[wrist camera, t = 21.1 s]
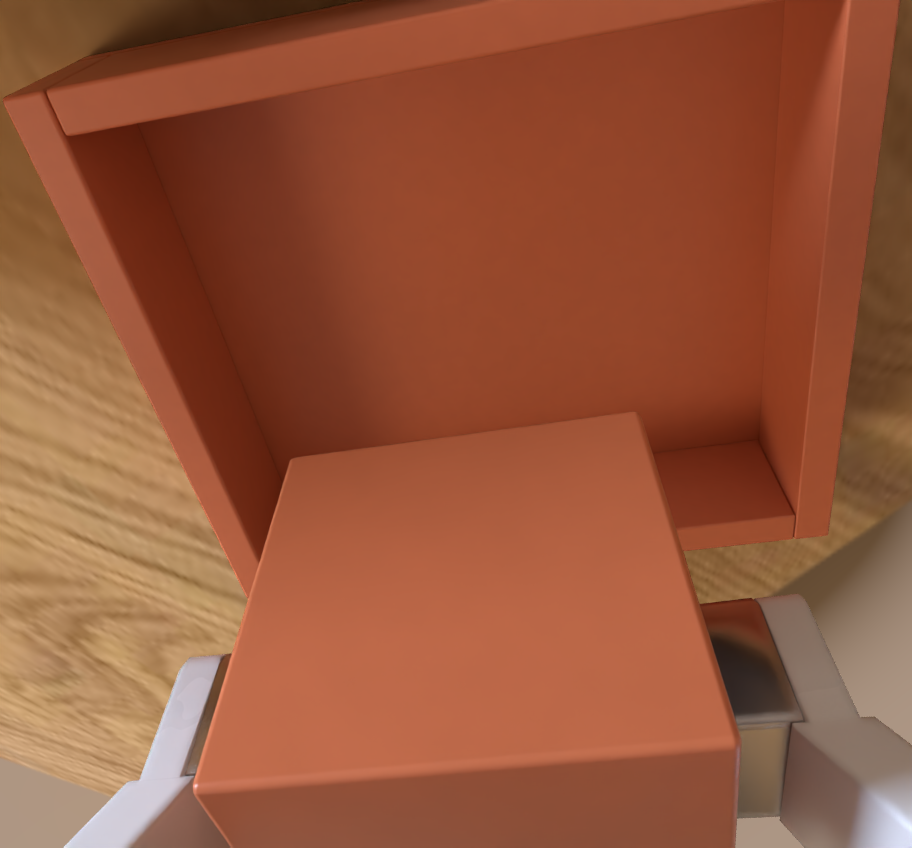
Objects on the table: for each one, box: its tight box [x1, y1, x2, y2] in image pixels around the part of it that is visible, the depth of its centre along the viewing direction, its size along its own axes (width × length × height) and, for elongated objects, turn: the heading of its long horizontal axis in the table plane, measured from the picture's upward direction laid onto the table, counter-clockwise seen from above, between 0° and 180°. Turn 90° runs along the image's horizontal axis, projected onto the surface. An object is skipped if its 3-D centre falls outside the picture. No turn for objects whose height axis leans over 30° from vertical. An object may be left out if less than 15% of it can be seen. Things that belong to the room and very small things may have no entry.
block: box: [193, 412, 742, 848], centre depth 9 cm, size 4×4×4 cm
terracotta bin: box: [3, 0, 900, 599], centre depth 17 cm, size 15×13×4 cm
